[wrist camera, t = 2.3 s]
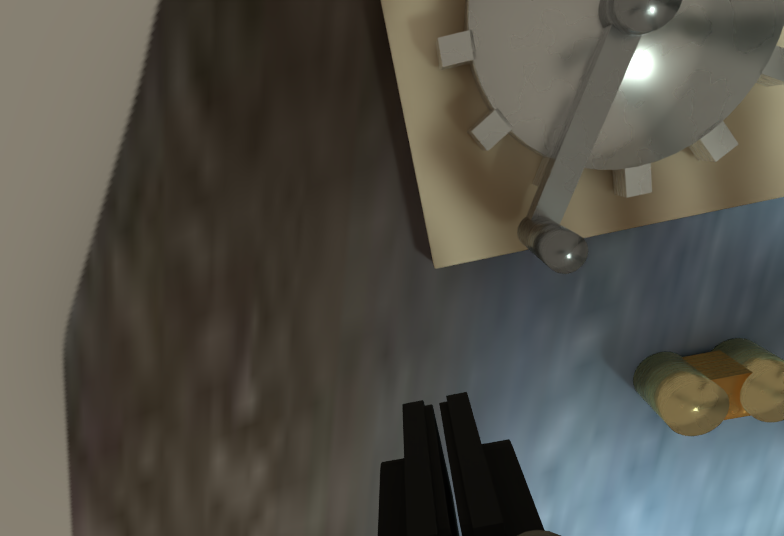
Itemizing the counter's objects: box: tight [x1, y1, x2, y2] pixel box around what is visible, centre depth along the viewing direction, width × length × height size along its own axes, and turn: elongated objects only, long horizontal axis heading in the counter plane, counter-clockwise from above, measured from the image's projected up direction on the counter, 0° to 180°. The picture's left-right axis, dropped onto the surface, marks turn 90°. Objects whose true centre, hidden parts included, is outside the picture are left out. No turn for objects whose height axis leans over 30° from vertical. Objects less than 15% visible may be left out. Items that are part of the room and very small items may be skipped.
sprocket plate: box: [380, 0, 784, 269], centre depth 25 cm, size 24×24×2 cm
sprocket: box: [435, 0, 784, 274], centre depth 21 cm, size 19×21×6 cm
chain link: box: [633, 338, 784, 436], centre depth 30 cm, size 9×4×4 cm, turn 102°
